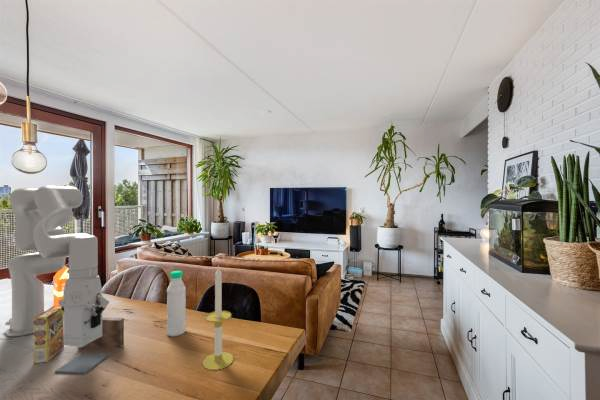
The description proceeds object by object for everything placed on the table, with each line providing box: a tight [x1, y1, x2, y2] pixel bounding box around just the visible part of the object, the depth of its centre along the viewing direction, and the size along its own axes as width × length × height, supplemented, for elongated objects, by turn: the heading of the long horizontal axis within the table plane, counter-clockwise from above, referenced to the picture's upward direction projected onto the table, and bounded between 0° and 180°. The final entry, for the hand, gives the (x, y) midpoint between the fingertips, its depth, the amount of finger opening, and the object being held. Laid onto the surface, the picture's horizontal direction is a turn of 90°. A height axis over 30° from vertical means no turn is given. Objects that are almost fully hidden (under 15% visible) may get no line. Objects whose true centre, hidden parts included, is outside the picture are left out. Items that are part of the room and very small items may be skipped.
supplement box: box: [63, 301, 103, 348], centre depth 90 cm, size 7×7×13 cm
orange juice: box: [52, 265, 69, 307], centre depth 140 cm, size 8×9×20 cm
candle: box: [202, 264, 234, 371], centre depth 91 cm, size 10×10×32 cm
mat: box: [54, 352, 111, 375], centre depth 90 cm, size 10×10×1 cm
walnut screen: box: [84, 317, 125, 349], centre depth 101 cm, size 16×2×10 cm, turn 87°
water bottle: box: [166, 270, 187, 337], centre depth 111 cm, size 7×7×25 cm
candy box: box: [33, 306, 65, 364], centre depth 94 cm, size 9×4×15 cm, turn 13°
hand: (83, 325), depth 90 cm, fingers closed on supplement box, 7 cm apart
